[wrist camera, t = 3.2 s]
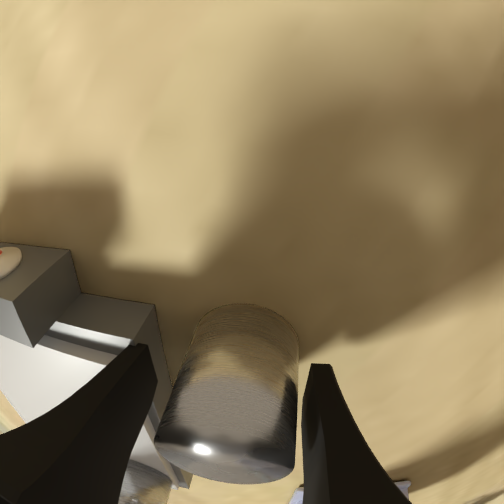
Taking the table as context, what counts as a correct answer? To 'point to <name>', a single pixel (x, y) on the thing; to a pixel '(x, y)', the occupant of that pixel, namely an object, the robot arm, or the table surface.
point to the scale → (71, 341)
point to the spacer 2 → (235, 399)
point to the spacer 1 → (144, 485)
